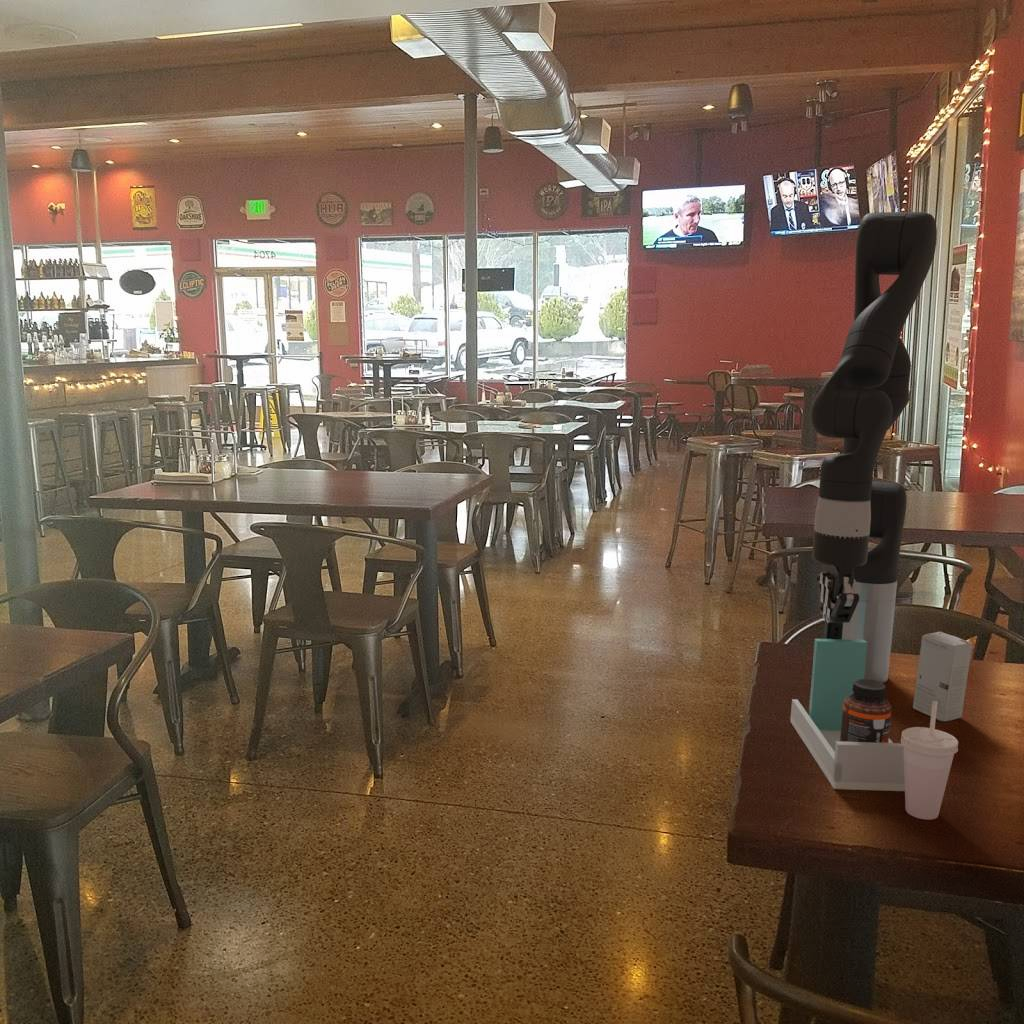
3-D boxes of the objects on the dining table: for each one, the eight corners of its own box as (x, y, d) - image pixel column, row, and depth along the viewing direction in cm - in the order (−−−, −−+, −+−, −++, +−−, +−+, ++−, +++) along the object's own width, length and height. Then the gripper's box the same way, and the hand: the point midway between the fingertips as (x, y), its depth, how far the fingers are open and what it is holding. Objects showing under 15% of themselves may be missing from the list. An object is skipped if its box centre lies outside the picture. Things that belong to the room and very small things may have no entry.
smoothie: (958, 812, 121) (970, 702, 118) (939, 830, 116) (952, 717, 114) (905, 794, 125) (916, 689, 123) (885, 812, 120) (896, 702, 118)
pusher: (807, 725, 143) (814, 638, 141) (856, 726, 143) (864, 639, 141) (810, 728, 142) (817, 641, 140) (859, 729, 142) (867, 642, 140)
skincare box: (911, 709, 154) (918, 633, 152) (931, 704, 156) (938, 630, 154) (944, 723, 149) (953, 645, 146) (965, 718, 151) (973, 641, 149)
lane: (790, 721, 148) (793, 683, 147) (855, 723, 148) (858, 685, 147) (834, 788, 126) (838, 744, 125) (910, 791, 126) (914, 746, 125)
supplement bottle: (888, 777, 128) (897, 694, 125) (840, 772, 129) (847, 689, 127) (882, 758, 133) (890, 678, 131) (835, 753, 134) (843, 673, 132)
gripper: (884, 539, 135) (873, 662, 138) (853, 521, 148) (843, 634, 151) (828, 537, 135) (818, 660, 138) (802, 520, 148) (794, 632, 151)
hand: (831, 646), depth 144 cm, fingers closed
